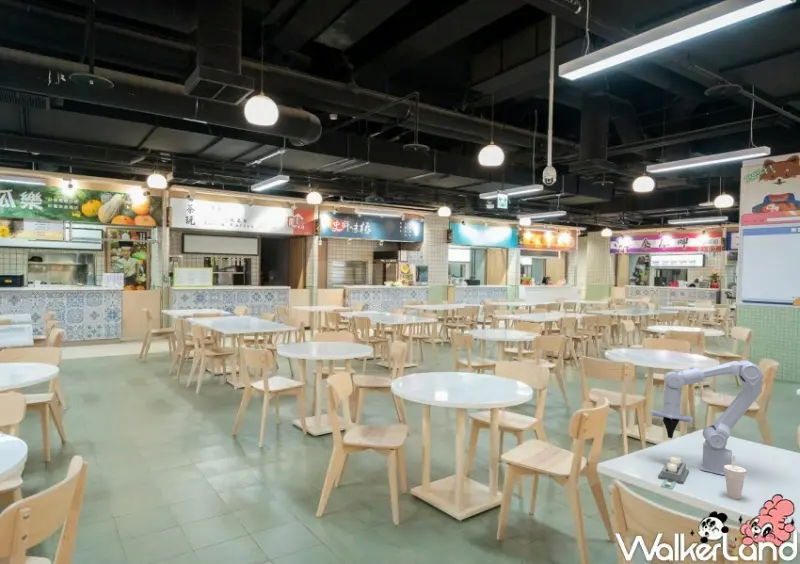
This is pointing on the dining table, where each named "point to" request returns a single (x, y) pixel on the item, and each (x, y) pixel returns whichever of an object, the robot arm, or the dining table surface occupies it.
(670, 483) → the card
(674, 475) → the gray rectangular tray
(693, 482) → the dining table surface
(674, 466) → the button
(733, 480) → the smoothie
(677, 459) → the button mid
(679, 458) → the button
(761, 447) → the dining table surface
